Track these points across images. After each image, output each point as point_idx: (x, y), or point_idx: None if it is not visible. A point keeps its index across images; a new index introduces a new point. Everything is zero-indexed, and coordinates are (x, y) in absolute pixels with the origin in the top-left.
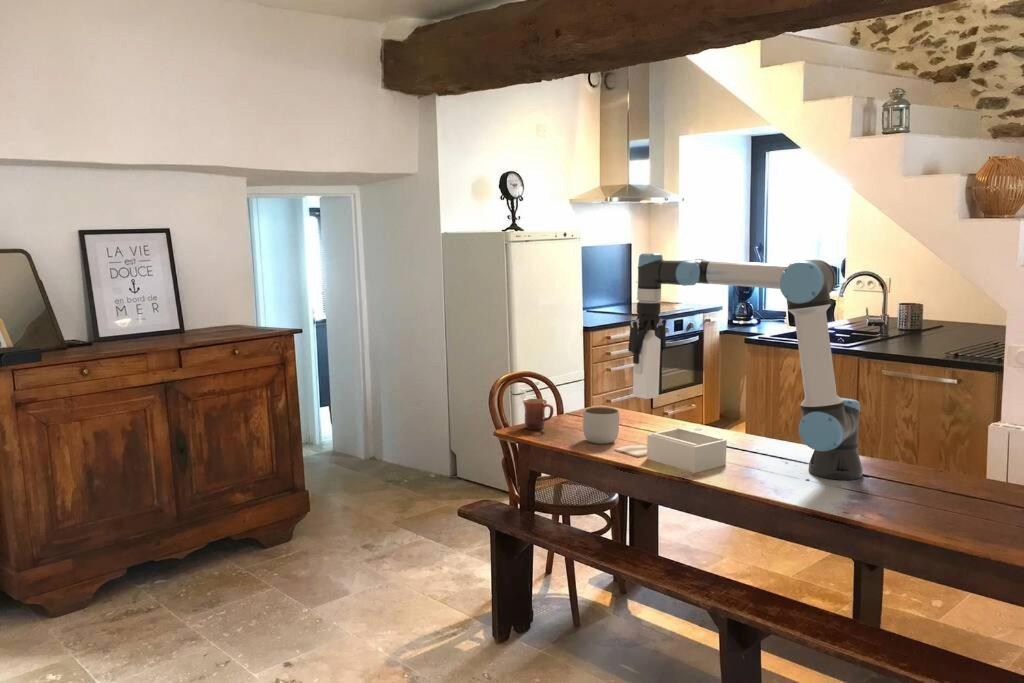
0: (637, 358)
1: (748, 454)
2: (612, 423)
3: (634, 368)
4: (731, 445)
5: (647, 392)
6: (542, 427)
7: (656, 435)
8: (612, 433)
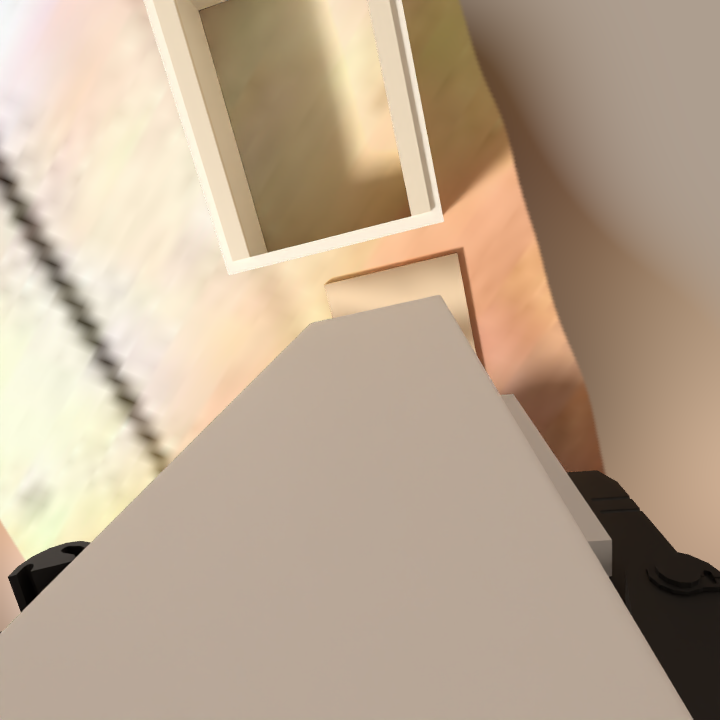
0: (610, 520)
1: (16, 116)
2: None
3: None
4: (19, 263)
5: (426, 304)
6: None
7: (422, 171)
8: None
